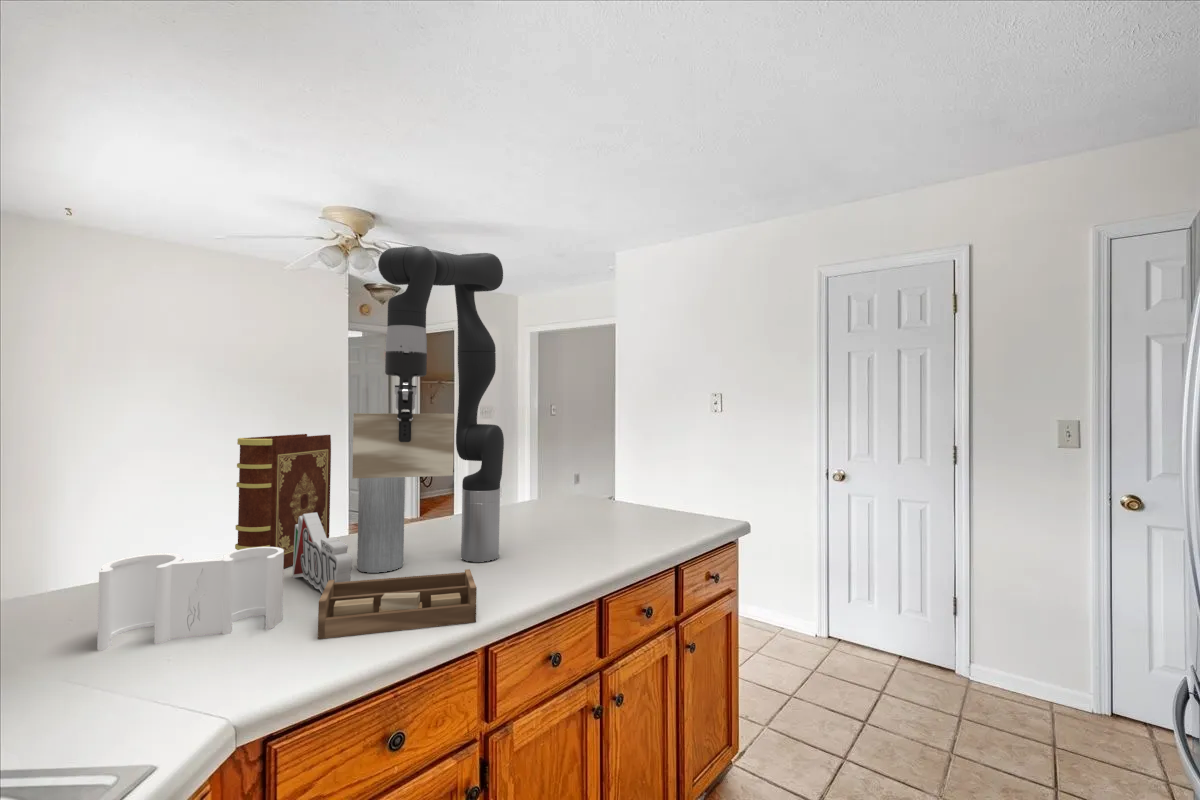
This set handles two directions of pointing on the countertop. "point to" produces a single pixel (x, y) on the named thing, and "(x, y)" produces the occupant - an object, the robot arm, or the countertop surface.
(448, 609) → the rack
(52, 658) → the countertop surface
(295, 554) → the decorative sign
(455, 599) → the offcut
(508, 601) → the countertop surface
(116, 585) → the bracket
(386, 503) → the vase
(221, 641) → the countertop surface
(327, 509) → the decorative book
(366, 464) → the sheet
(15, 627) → the countertop surface
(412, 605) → the upper offcut
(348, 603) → the offcut
